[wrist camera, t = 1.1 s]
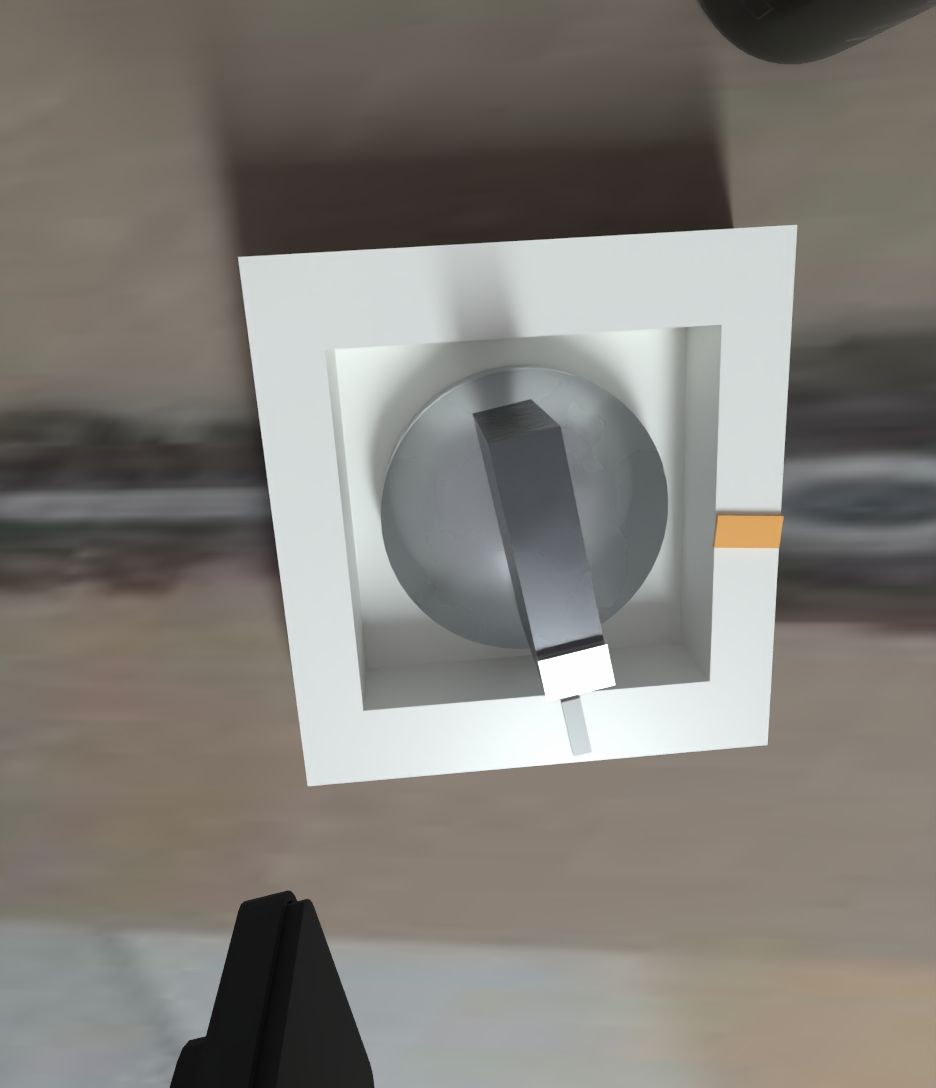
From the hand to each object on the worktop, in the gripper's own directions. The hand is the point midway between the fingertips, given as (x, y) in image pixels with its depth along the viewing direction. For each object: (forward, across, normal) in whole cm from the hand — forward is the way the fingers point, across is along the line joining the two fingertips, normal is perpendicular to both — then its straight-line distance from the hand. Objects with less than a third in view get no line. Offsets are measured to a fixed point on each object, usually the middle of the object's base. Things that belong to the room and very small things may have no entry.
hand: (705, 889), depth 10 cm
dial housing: (+20, 0, 0) cm, 20 cm away
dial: (+18, 0, 0) cm, 18 cm away
